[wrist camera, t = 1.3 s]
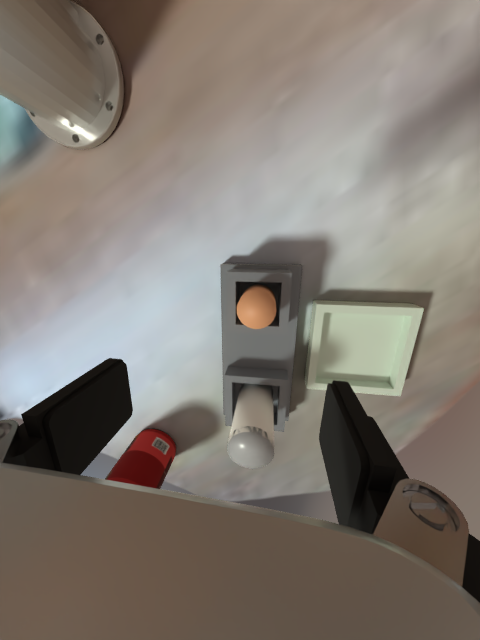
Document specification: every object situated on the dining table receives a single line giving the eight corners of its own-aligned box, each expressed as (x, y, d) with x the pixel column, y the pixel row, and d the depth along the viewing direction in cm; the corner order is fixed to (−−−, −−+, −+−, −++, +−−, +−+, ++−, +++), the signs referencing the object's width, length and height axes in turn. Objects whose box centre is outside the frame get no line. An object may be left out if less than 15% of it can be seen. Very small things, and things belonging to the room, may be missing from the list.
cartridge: (239, 377, 33) (226, 429, 23) (274, 379, 32) (275, 434, 23) (239, 405, 34) (227, 465, 25) (272, 408, 34) (272, 471, 24)
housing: (223, 263, 30) (212, 266, 24) (300, 264, 28) (307, 268, 23) (225, 408, 37) (217, 434, 31) (287, 414, 35) (290, 442, 30)
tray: (313, 300, 29) (316, 304, 27) (412, 303, 28) (424, 308, 26) (304, 379, 33) (306, 388, 31) (391, 386, 32) (400, 396, 30)
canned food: (133, 425, 41) (85, 486, 30) (175, 429, 40) (140, 494, 29) (139, 457, 43) (98, 525, 33) (179, 462, 42) (149, 532, 31)
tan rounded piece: (241, 283, 26) (236, 290, 22) (276, 284, 26) (277, 291, 22) (241, 316, 27) (236, 328, 23) (274, 318, 27) (275, 330, 23)
